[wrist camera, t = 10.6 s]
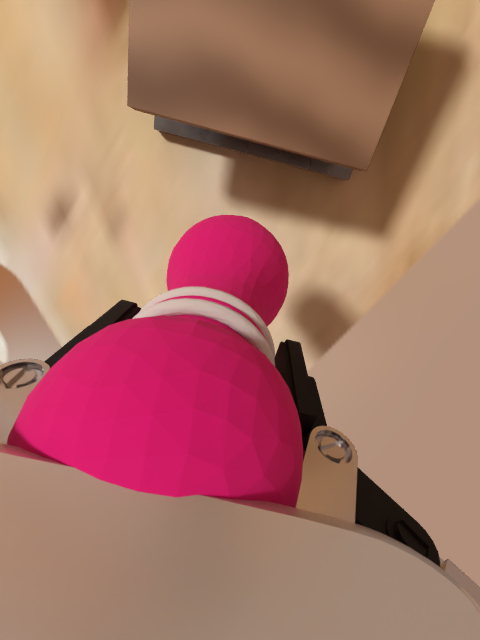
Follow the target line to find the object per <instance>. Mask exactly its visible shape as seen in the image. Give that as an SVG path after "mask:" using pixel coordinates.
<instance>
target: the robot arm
mask: <svg viewBox="0 0 480 640" xmlns="http://www.w3.org/2000/svg"><path fill="white" fill-rule="evenodd" d="M140 310H141V308H139V307H137V304H136V303H133V302H129V301H125V300H121V301H119V302H118V303H117V304H116V305H114V306H113V307H112V308H111V309H110V310H108V311H107V312H106V313H105V314H103V315H102V316H101V317H100V318H99V319H97V320H96V321H95V322H94V323H92V324H91V325H90V326H88V327H87V328H85V329H84V330H83V331H82V332H80V333H79V334H78V335H77V336H75V337H74V338H73V339H72V340H71V341H69V342H68V343H67V344H66V345H64V346H63V347H62V348H61V349H60V350H58V351H57V352H56V353H54V354H53V355H52V356H51V357H50V358H48V359H47V360H46V361H45V362H44V361H41V360H37V359H19V360H15V361H10V362H8V363H5V364H2V365H0V640H480V587H479V586H478V585H477V584H476V583H475V582H474V581H472V580H471V579H470V578H469V577H468V576H467V575H466V574H465V573H464V572H462V571H461V570H460V569H459V568H458V567H457V566H456V565H455V564H453V563H452V562H451V561H450V560H449V559H447V560H445V561H443V560H442V559H441V558H440V557H439V554H438V551H437V549H436V547H435V545H434V542H433V541H432V539H431V538H430V536H429V535H428V534H427V532H426V531H425V530H424V529H423V527H421V526H420V524H419V523H418V522H417V521H416V520H414V519H413V518H412V517H411V516H410V515H409V514H408V513H407V512H406V511H405V510H404V509H402V508H401V507H400V506H399V505H398V504H397V503H396V502H395V501H394V500H393V499H392V498H391V497H389V496H388V495H387V494H386V493H385V492H384V491H383V490H382V489H381V488H379V487H378V486H377V485H376V484H375V483H374V482H373V481H372V480H370V478H368V476H366V475H365V474H364V473H363V472H362V471H361V470H360V469H359V468H358V467H357V466H358V456H357V451H356V449H355V447H354V445H353V444H352V442H351V441H350V440H349V439H348V438H347V437H346V436H345V435H344V434H343V433H341V432H340V431H338V430H336V429H334V428H331V427H328V426H327V424H326V420H325V417H324V412H323V409H322V405H321V401H320V397H319V393H318V390H317V386H316V382H315V379H314V378H313V377H310V376H308V374H307V370H306V365H305V361H304V357H303V352H302V348H301V344H300V342H296V341H291V340H286V341H285V342H280V345H279V347H278V350H277V353H276V356H275V359H274V360H275V368H276V369H277V370H278V371H279V373H280V374H281V376H282V378H283V379H284V381H285V382H286V384H287V386H288V387H289V390H290V392H291V395H292V398H293V400H294V403H295V406H296V408H297V411H298V415H299V420H300V424H301V432H302V443H303V469H302V481H301V486H300V491H299V495H298V500H297V505H296V508H294V507H290V506H286V505H282V504H277V503H273V502H268V501H254V500H236V499H227V498H219V497H212V496H204V495H192V496H184V497H170V496H164V495H157V494H151V493H144V492H138V491H135V490H131V489H128V488H125V487H121V486H118V485H115V484H112V483H109V482H105V481H102V480H99V479H97V478H95V477H93V476H91V475H89V474H87V473H85V472H82V471H80V470H78V469H76V468H74V467H71V466H68V465H65V464H62V463H59V462H56V461H53V460H50V459H47V458H45V457H42V456H40V455H37V454H35V453H32V452H29V451H27V450H24V449H22V448H20V447H16V446H12V445H7V439H8V436H9V434H10V432H11V429H12V427H13V425H14V423H15V421H16V419H17V417H18V415H19V413H20V411H21V409H22V407H23V405H24V403H25V401H26V399H27V396H28V395H29V394H30V392H31V391H32V390H33V389H34V388H35V386H36V385H37V384H38V383H39V382H40V380H41V379H42V378H43V377H44V376H45V374H46V373H47V372H48V371H49V369H50V368H51V367H52V366H53V365H54V364H55V363H57V362H58V361H59V360H60V359H61V358H62V357H63V356H64V355H65V354H67V353H68V352H69V351H70V350H71V349H72V348H73V347H74V346H75V345H77V344H78V343H79V342H81V341H83V340H84V339H86V338H88V337H90V336H91V335H93V334H95V333H97V332H98V331H100V330H102V329H103V328H105V327H107V326H109V325H111V324H115V323H118V322H121V321H125V320H128V319H132V318H133V317H134V316H136V315H137V314H138V313H139V312H140Z"/></svg>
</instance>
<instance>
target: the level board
mask: <svg viewBox="0 0 480 640" xmlns="http://www.w3.org/2000/svg"><path fill="white" fill-rule="evenodd" d="M434 1H435V0H129V48H128V102H127V106H129V107H131V108H133V109H134V110H137V111H141V112H144V113H148V114H152V115H155V116H159V117H163V118H166V119H170V120H174V121H178V122H181V123H185V124H189V125H192V126H196V127H200V128H203V129H207V130H211V131H214V132H218V133H222V134H226V135H229V136H233V137H237V138H240V139H244V140H248V141H251V142H255V143H259V144H263V145H266V146H270V147H274V148H277V149H281V150H285V151H288V152H292V153H296V154H300V155H303V156H307V157H311V158H314V159H318V160H322V161H325V162H329V163H333V164H336V165H340V166H344V167H348V168H351V169H355V170H359V171H367V169H368V166H369V164H370V161H371V159H372V156H373V154H374V151H375V149H376V146H377V144H378V141H379V139H380V136H381V134H382V131H383V129H384V126H385V124H386V121H387V119H388V116H389V114H390V111H391V109H392V106H393V104H394V101H395V99H396V96H397V94H398V91H399V89H400V86H401V84H402V81H403V79H404V76H405V74H406V71H407V69H408V66H409V64H410V61H411V59H412V56H413V54H414V51H415V49H416V46H417V44H418V41H419V39H420V36H421V34H422V31H423V29H424V26H425V24H426V21H427V19H428V16H429V14H430V11H431V9H432V6H433V4H434Z"/></svg>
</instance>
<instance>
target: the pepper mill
mask: <svg viewBox="0 0 480 640" xmlns="http://www.w3.org/2000/svg"><path fill="white" fill-rule="evenodd" d="M288 276H289V274H288V264H287V260H286V256H285V254H284V252H283V249H282V247H281V245H280V244H279V242H278V241H277V240H276V238H275V237H274V236H273V235H272V234H271V233H270V232H269V231H268V230H267V229H266V228H265V227H263V226H262V225H260V224H259V223H258V222H256V221H254V220H252V219H250V218H247V217H243V216H235V215H220V216H214V217H210V218H208V219H205V220H202V221H201V222H199V223H197V224H195V225H194V226H193V227H191V228H190V229H189V230H188V231H187V232H186V233H185V234H184V235H183V236H182V238H181V239H180V240H179V242H178V243H177V244H176V246H175V247H174V249H173V251H172V254H171V256H170V259H169V264H168V270H167V287H168V291H167V292H165V293H162V294H160V295H158V296H156V297H155V298H153V299H152V300H150V301H149V302H148V303H147V304H146V305H145V306H144V307H143V308H142V309H141V310H140V312H139V313H138V314H137V315H136V316H134V317H133V318H132V319H128V320H125V321H121V322H118V323H115V324H111V325H109V326H107V327H105V328H103V329H102V330H100V331H98V332H97V333H95V334H93V335H91V336H90V337H88V338H86V339H84V340H83V341H81V342H79V343H78V344H77V345H75V346H74V347H73V348H72V349H71V350H70V351H69V352H68V353H67V354H65V355H64V356H63V357H62V358H61V359H60V360H59V361H58V362H57V363H55V364H54V365H53V366H52V367H51V368H50V369H49V371H48V372H47V373H46V374H45V376H44V377H43V378H42V379H41V380H40V382H39V383H38V384H37V385H36V386H35V388H34V389H33V390H32V391H31V392H30V394H29V395H28V396H27V399H26V401H25V403H24V405H23V407H22V409H21V411H20V413H19V415H18V417H17V419H16V421H15V423H14V425H13V427H12V429H11V432H10V434H9V436H8V439H7V445H12V446H16V447H20V448H22V449H24V450H27V451H29V452H32V453H35V454H37V455H40V456H42V457H45V458H47V459H50V460H53V461H56V462H59V463H62V464H65V465H68V466H71V467H74V468H76V469H78V470H80V471H82V472H85V473H87V474H89V475H91V476H93V477H95V478H97V479H99V480H102V481H105V482H109V483H112V484H115V485H118V486H121V487H125V488H128V489H131V490H135V491H138V492H144V493H151V494H157V495H164V496H170V497H184V496H192V495H204V496H212V497H219V498H227V499H236V500H254V501H268V502H273V503H277V504H282V505H286V506H290V507H294V508H296V505H297V500H298V495H299V491H300V486H301V481H302V469H303V443H302V432H301V424H300V420H299V415H298V411H297V408H296V406H295V403H294V400H293V398H292V395H291V392H290V390H289V387H288V386H287V384H286V382H285V381H284V379H283V378H282V376H281V374H280V373H279V371H278V370H277V369H276V368H275V360H274V359H275V350H274V344H273V340H272V337H271V335H270V332H269V330H268V328H267V326H268V325H269V324H270V323H271V322H272V321H273V320H274V318H275V317H276V316H277V314H278V312H279V310H280V309H281V307H282V305H283V303H284V300H285V297H286V294H287V288H288Z"/></svg>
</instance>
